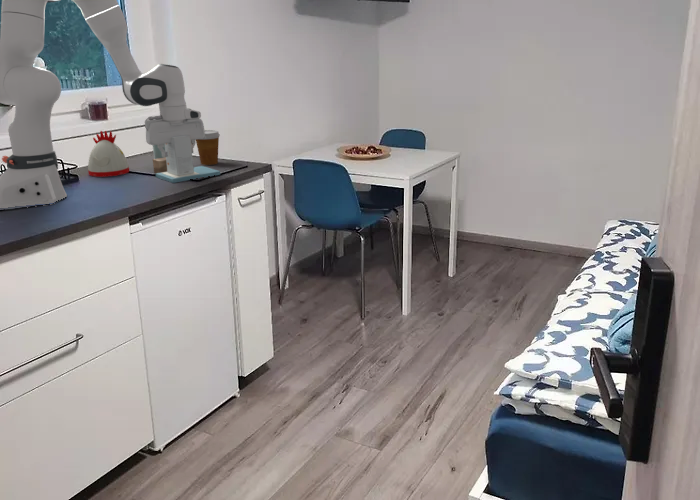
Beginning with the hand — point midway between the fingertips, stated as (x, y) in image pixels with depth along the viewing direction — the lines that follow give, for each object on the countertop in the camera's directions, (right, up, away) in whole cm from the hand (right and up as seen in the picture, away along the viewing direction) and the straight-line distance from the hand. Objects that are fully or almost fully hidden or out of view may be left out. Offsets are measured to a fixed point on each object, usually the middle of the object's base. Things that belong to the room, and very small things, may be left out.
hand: (177, 155), depth 218 cm
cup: (-10, -1, +22) cm, 24 cm away
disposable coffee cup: (+5, 0, +24) cm, 25 cm away
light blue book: (+2, -7, +4) cm, 8 cm away
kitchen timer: (-28, -5, +12) cm, 31 cm away
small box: (0, -6, +2) cm, 7 cm away
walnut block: (-8, -5, +10) cm, 14 cm away
